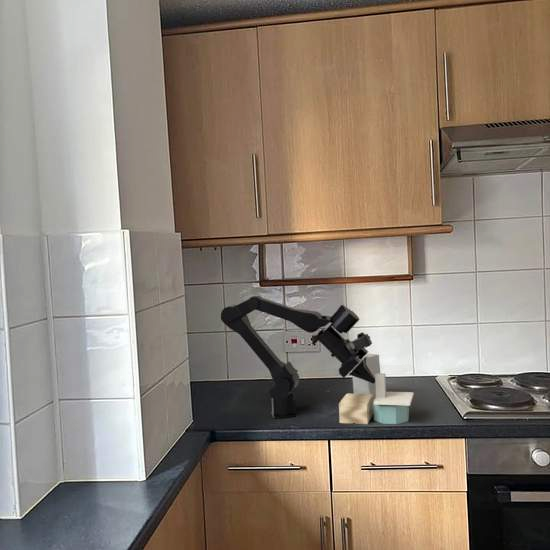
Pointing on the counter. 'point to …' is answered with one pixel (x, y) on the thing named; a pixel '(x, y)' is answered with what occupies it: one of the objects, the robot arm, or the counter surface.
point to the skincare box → (365, 386)
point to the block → (356, 408)
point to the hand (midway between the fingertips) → (375, 382)
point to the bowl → (391, 413)
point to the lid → (390, 393)
